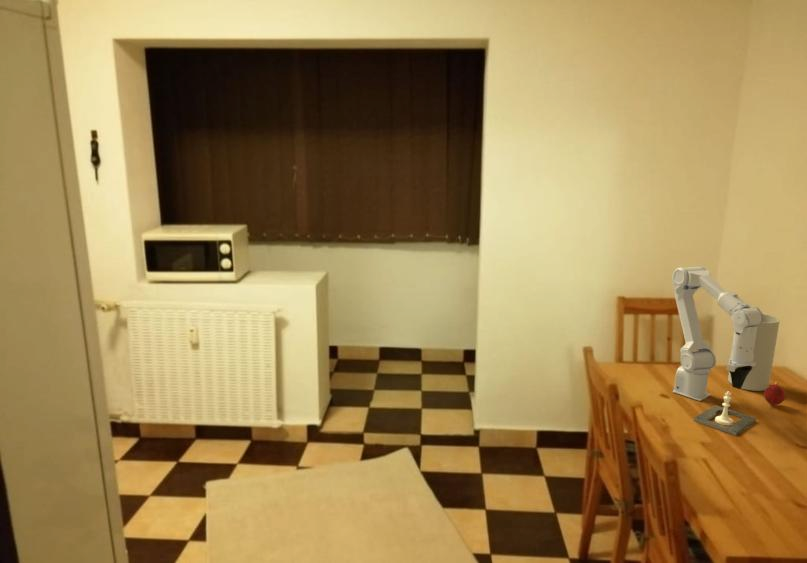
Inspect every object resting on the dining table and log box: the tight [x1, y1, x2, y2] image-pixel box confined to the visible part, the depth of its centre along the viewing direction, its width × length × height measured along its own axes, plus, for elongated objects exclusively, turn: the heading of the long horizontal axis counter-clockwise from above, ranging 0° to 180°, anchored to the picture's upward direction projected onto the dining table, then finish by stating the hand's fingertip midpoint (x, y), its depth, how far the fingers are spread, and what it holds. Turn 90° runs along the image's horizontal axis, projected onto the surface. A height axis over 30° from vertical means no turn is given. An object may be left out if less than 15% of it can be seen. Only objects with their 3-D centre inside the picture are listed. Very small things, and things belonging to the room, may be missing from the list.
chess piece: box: [714, 390, 734, 426], centre depth 171 cm, size 5×5×10 cm
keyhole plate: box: [693, 404, 757, 437], centre depth 172 cm, size 14×12×1 cm
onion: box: [763, 382, 786, 406], centre depth 182 cm, size 6×6×8 cm
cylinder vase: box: [727, 313, 780, 392], centre depth 197 cm, size 12×12×25 cm
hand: (736, 387), depth 174 cm, fingers closed
